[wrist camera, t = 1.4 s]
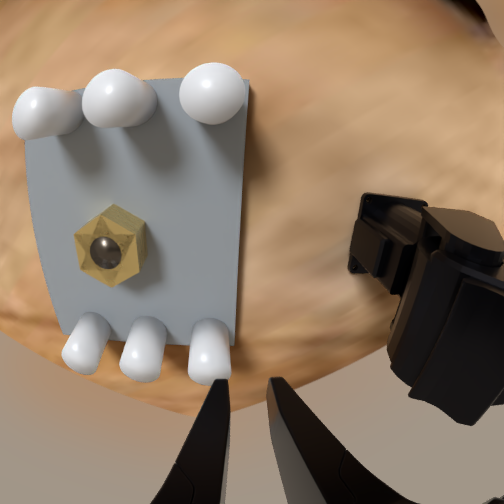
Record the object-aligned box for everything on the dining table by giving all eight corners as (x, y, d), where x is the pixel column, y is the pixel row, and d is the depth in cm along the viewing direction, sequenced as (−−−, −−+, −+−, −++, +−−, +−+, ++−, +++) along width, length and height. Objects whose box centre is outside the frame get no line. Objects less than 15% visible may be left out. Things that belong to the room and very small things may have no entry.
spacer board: (247, 82, 16) (258, 64, 11) (233, 337, 24) (237, 385, 19) (32, 102, 14) (-13, 103, 9) (67, 327, 22) (45, 366, 17)
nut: (144, 202, 17) (133, 214, 15) (149, 271, 20) (141, 289, 17) (86, 204, 17) (70, 215, 15) (95, 269, 19) (83, 286, 17)
